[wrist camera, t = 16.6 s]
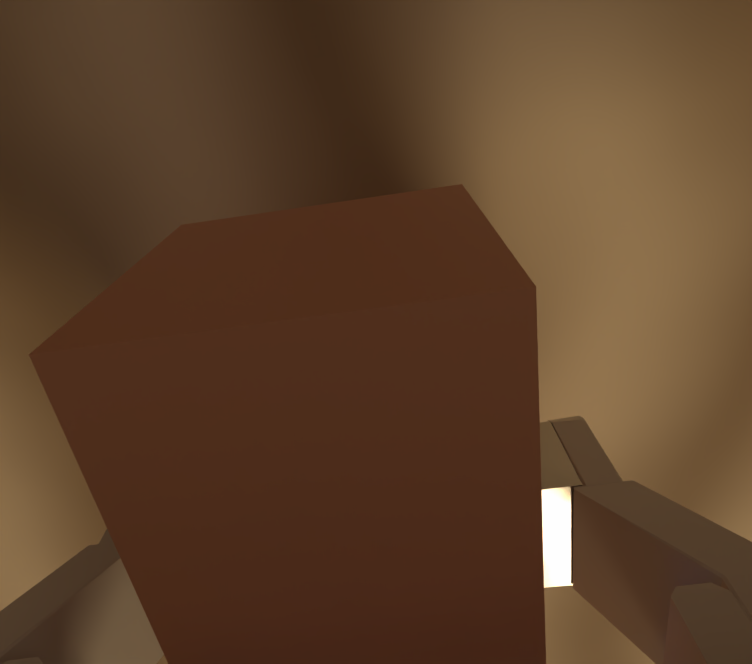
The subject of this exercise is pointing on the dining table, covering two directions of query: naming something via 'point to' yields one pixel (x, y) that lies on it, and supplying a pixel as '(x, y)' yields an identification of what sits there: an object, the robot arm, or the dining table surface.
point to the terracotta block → (318, 435)
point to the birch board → (398, 175)
